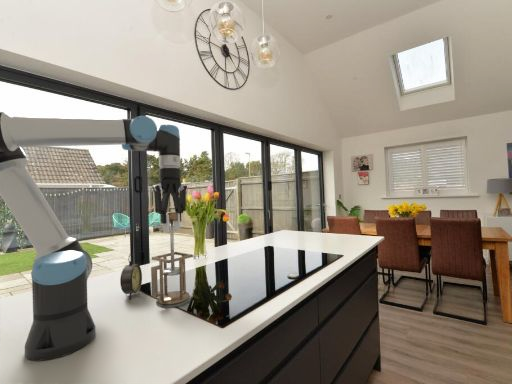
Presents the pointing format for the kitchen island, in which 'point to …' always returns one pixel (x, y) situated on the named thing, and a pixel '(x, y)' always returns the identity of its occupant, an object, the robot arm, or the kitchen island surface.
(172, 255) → the plunger
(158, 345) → the kitchen island surface
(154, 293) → the press frame
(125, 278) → the alarm clock
